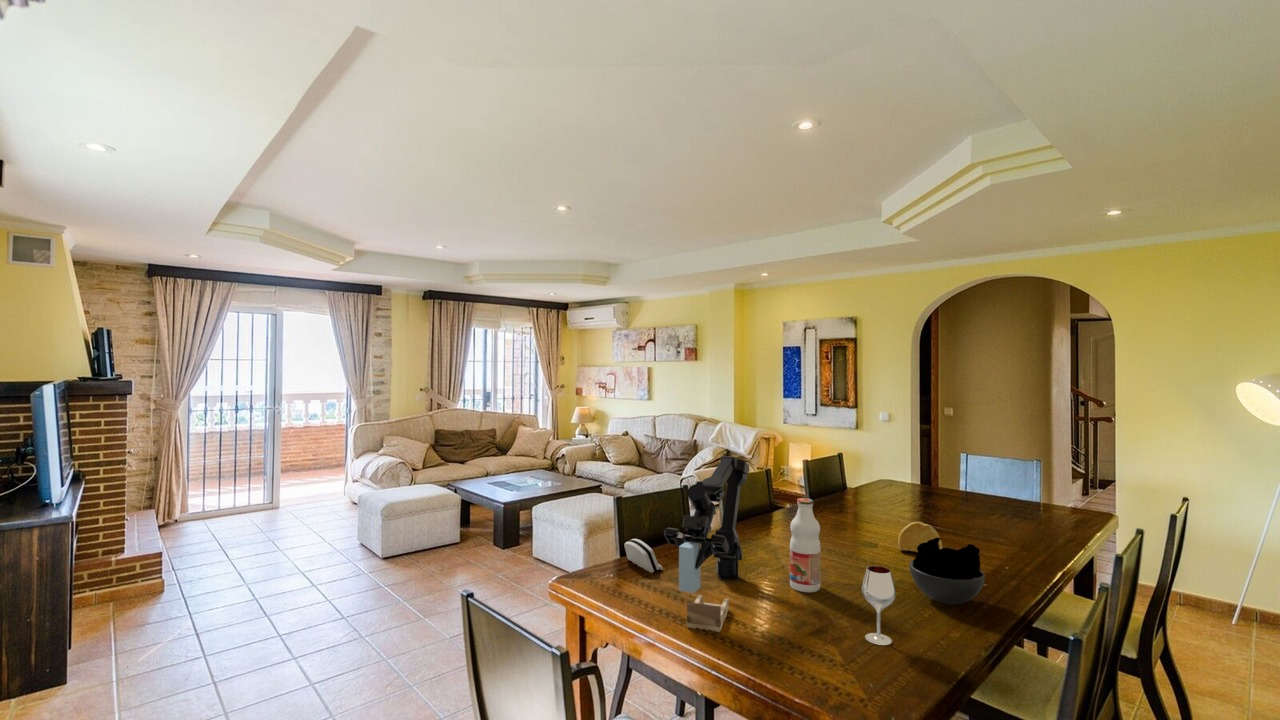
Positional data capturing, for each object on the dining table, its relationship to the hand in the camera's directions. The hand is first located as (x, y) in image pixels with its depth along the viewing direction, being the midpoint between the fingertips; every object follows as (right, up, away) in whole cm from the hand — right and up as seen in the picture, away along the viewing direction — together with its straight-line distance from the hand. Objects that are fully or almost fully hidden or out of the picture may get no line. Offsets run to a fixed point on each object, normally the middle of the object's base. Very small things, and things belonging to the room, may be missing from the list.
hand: (687, 567), depth 163 cm
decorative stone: (+94, -15, +58) cm, 112 cm away
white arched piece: (-13, -14, +40) cm, 45 cm away
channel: (+6, -13, -3) cm, 15 cm away
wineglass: (+48, -14, -15) cm, 52 cm away
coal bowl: (+79, -14, +10) cm, 80 cm away
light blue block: (+1, -7, +1) cm, 7 cm away
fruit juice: (+39, -14, +21) cm, 46 cm away
